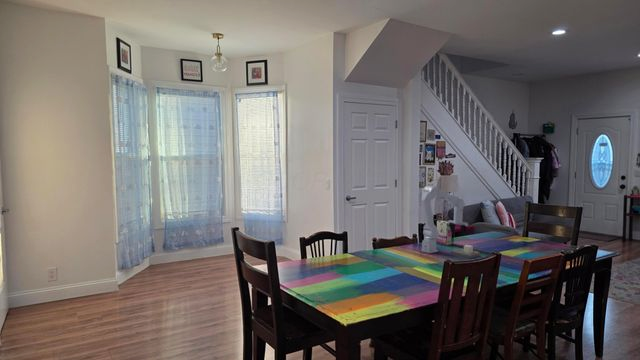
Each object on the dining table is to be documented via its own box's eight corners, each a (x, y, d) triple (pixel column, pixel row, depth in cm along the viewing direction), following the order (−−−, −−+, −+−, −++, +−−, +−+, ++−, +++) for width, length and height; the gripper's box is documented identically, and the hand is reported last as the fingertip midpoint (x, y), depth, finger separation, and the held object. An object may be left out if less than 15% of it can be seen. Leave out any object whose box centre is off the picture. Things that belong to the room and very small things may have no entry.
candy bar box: (451, 244, 299) (452, 222, 297) (446, 245, 297) (447, 223, 295) (441, 241, 309) (441, 220, 307) (436, 242, 307) (436, 220, 305)
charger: (469, 255, 266) (469, 246, 266) (463, 254, 270) (463, 245, 269) (472, 255, 269) (472, 245, 268) (467, 253, 272) (467, 244, 272)
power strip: (469, 258, 262) (469, 254, 261) (450, 254, 273) (450, 250, 272) (480, 255, 269) (480, 251, 269) (461, 251, 280) (461, 247, 280)
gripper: (470, 216, 284) (470, 235, 285) (452, 213, 296) (452, 232, 297) (464, 217, 280) (464, 237, 281) (446, 214, 291) (446, 233, 292)
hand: (457, 234), depth 288 cm, fingers open, 7 cm apart
